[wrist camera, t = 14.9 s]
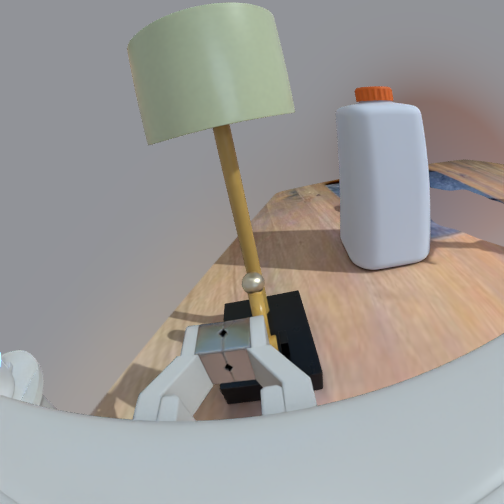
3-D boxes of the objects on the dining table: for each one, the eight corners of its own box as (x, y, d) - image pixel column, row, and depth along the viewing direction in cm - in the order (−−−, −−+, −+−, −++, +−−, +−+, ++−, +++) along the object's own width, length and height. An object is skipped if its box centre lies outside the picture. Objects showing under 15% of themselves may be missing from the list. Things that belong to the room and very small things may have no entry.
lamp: (341, 384, 25) (293, -31, 9) (209, 405, 26) (75, 29, 10) (308, 288, 41) (266, 39, 25) (217, 305, 42) (152, 66, 26)
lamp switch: (279, 355, 26) (263, 271, 26) (255, 359, 26) (237, 276, 26) (278, 346, 28) (263, 268, 28) (256, 350, 28) (239, 272, 28)
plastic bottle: (403, 226, 52) (395, 90, 39) (436, 262, 39) (437, 86, 26) (336, 235, 54) (318, 93, 42) (355, 276, 41) (338, 85, 28)
